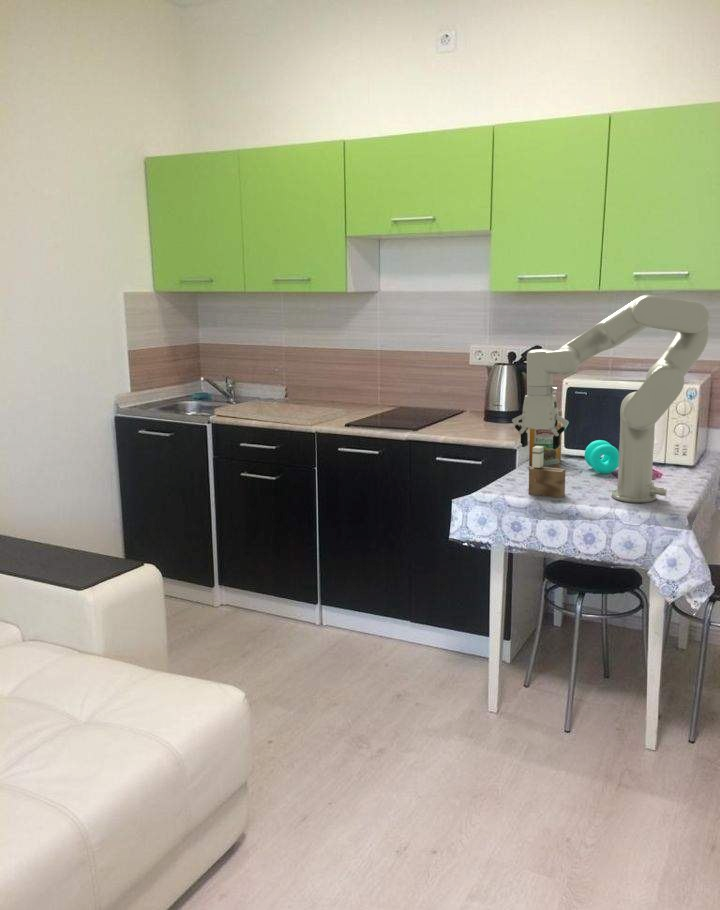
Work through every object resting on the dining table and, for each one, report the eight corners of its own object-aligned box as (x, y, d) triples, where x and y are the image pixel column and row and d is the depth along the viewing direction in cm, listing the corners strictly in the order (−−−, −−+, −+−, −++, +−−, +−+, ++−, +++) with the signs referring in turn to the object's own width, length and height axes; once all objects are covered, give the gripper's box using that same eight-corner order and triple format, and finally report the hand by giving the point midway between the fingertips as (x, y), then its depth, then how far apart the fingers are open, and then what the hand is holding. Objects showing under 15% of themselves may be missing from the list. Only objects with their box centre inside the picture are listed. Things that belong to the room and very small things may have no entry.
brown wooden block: (564, 494, 242) (565, 468, 240) (560, 498, 238) (561, 471, 236) (533, 490, 247) (533, 465, 245) (528, 494, 243) (528, 468, 242)
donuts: (590, 475, 264) (591, 445, 262) (583, 468, 274) (584, 439, 272) (620, 474, 264) (622, 445, 262) (612, 467, 273) (613, 438, 271)
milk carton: (529, 465, 279) (530, 412, 275) (531, 458, 289) (532, 407, 285) (560, 466, 277) (561, 412, 272) (560, 459, 286) (562, 407, 282)
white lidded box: (543, 465, 243) (543, 446, 242) (539, 467, 240) (540, 448, 239) (535, 464, 244) (536, 445, 243) (531, 467, 241) (532, 447, 240)
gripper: (572, 390, 236) (572, 446, 239) (516, 388, 245) (517, 443, 248) (564, 393, 229) (564, 451, 233) (507, 392, 238) (508, 448, 242)
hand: (540, 447), depth 241 cm, fingers open, 9 cm apart
